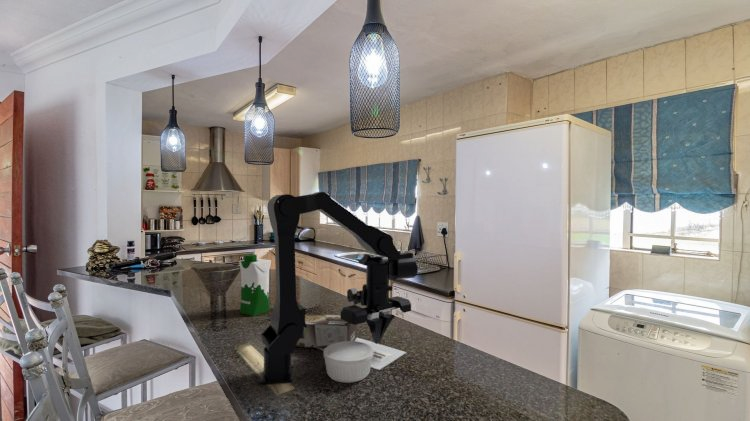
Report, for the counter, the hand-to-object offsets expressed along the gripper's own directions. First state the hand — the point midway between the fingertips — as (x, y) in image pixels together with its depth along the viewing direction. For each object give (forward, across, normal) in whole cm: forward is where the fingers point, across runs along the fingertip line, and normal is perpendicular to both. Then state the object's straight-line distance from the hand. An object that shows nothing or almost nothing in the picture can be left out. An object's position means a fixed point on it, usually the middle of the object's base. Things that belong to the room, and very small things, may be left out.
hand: (376, 343), depth 89 cm
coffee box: (0, +12, -21) cm, 24 cm away
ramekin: (+3, +11, +4) cm, 12 cm away
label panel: (+3, +2, -5) cm, 6 cm away
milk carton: (+3, +12, -52) cm, 54 cm away
